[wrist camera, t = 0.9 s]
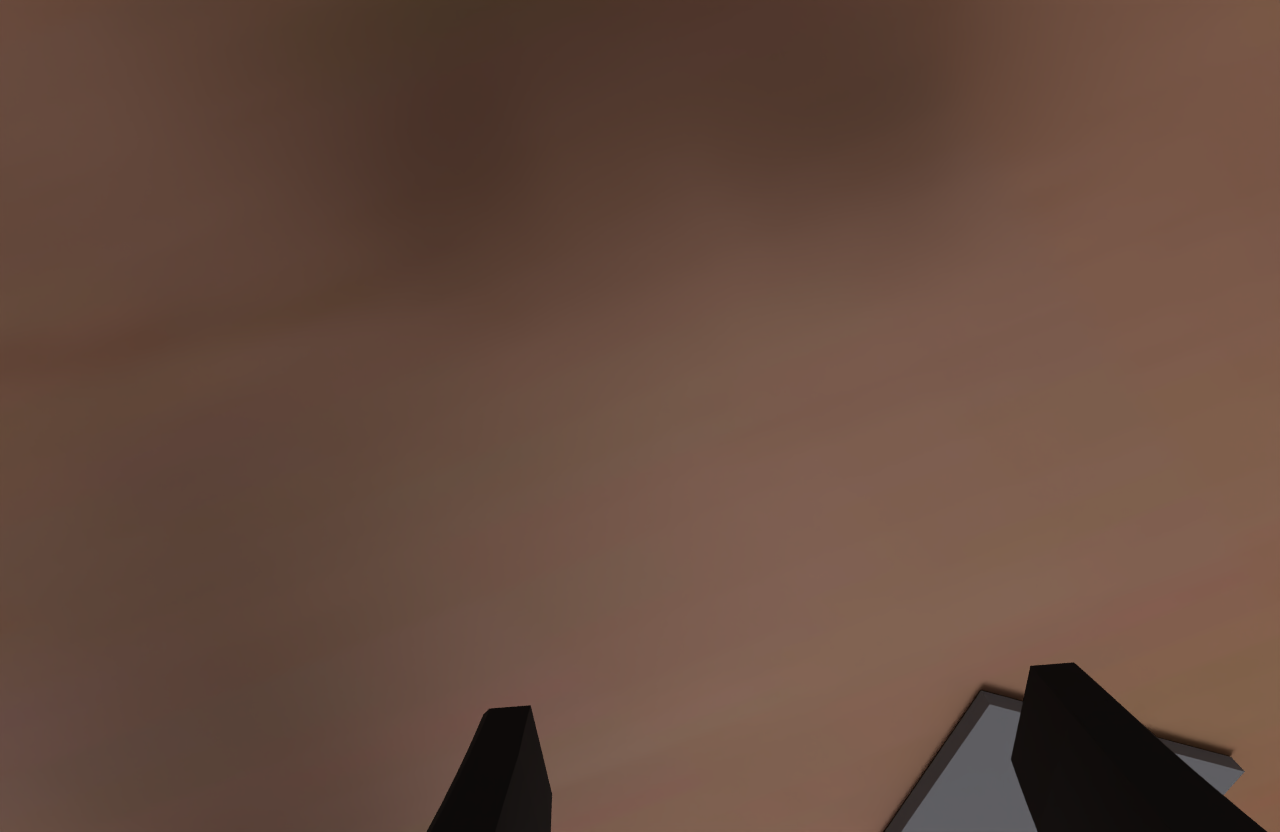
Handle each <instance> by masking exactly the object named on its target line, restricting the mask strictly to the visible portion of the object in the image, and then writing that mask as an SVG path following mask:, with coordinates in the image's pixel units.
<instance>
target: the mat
mask: <svg viewBox="0 0 1280 832" xmlns="http://www.w3.org/2000/svg"><path fill="white" fill-rule="evenodd" d="M1022 704H1023V701H1019V700H1015V699H1011V698H1008V697H1004V696H1000V695H996V694H993V693H989V692H985V691H980V693H979V694H978V696H977V697H976V699H975V700H974V702H973V703H972V704H971V706H970V707H969V709H968V710H967V712H966V713H965V715H964V716H963V718H962V719H961V721H960V722H959V724H958V725H957V726H956V728H955V729H954V731H953V732H952V734H951V735H950V737H949V738H948V740H947V741H946V743H945V744H944V745H943V747H942V748H941V750H940V751H939V753H938V754H937V756H936V757H935V759H934V760H933V762H932V763H931V765H930V766H929V767H928V769H927V770H926V772H925V773H924V775H923V776H922V778H921V779H920V781H919V782H918V784H917V785H916V787H915V788H914V789H913V791H912V792H911V794H910V795H909V797H908V798H907V800H906V801H905V803H904V804H903V806H902V807H901V809H900V810H899V811H898V813H897V814H896V816H895V817H894V819H893V820H892V822H891V823H890V825H889V826H888V828H887V829H886V830H885V832H1037V829H1036V827H1035V824H1034V821H1033V819H1032V816H1031V814H1030V811H1029V809H1028V806H1027V803H1026V801H1025V798H1024V795H1023V792H1022V790H1021V787H1020V784H1019V781H1018V779H1017V776H1016V773H1015V770H1014V767H1013V765H1012V762H1011V756H1012V751H1013V746H1014V741H1015V737H1016V732H1017V727H1018V723H1019V718H1020V713H1021V708H1022ZM1158 739H1159V740H1160V741H1162V742H1163V743H1164V744H1165V745H1166V746H1167V747H1168V748H1169V749H1171V750H1172V751H1173V752H1174V753H1175V754H1176V755H1177V756H1178V757H1180V758H1181V759H1182V760H1183V761H1184V762H1185V763H1186V764H1188V765H1189V766H1190V767H1191V768H1192V769H1193V770H1194V771H1196V772H1197V773H1198V774H1199V775H1200V776H1201V777H1203V778H1204V779H1205V780H1206V781H1207V782H1208V783H1210V784H1211V785H1212V786H1213V787H1214V788H1215V789H1217V790H1218V791H1219V792H1220V793H1221V794H1223V795H1224V794H1225V793H1226V792H1227V791H1228V790H1229V788H1230V787H1231V786H1232V785H1233V784H1234V783H1235V782H1236V781H1237V780H1238V778H1239V777H1240V776H1241V775H1242V774H1243V773H1244V772H1245V771H1244V770H1243V769H1242V768H1241V767H1240V766H1239V765H1238V764H1237V763H1236V762H1235V761H1234V760H1233V758H1232V757H1229V756H1225V755H1221V754H1217V753H1214V752H1210V751H1206V750H1202V749H1199V748H1195V747H1191V746H1187V745H1184V744H1180V743H1176V742H1172V741H1169V740H1165V739H1161V738H1158Z"/></svg>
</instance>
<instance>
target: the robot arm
mask: <svg viewBox="0 0 1280 832" xmlns="http://www.w3.org/2000/svg"><path fill="white" fill-rule="evenodd" d="M1011 762H1012V765H1013V767H1014V770H1015V773H1016V776H1017V779H1018V781H1019V784H1020V787H1021V790H1022V792H1023V795H1024V798H1025V801H1026V803H1027V806H1028V809H1029V811H1030V814H1031V816H1032V819H1033V821H1034V824H1035V827H1036V829H1037V832H1267V831H1265V830H1264V829H1263V828H1262V827H1261V826H1259V825H1258V824H1257V823H1256V822H1255V821H1253V820H1252V819H1251V818H1250V817H1249V816H1247V815H1246V814H1245V813H1244V812H1242V811H1241V810H1240V809H1239V808H1238V807H1237V806H1235V805H1234V804H1233V803H1232V802H1231V801H1230V800H1228V799H1227V798H1226V797H1225V796H1224V795H1223V794H1221V793H1220V792H1219V791H1218V790H1217V789H1215V788H1214V787H1213V786H1212V785H1211V784H1210V783H1208V782H1207V781H1206V780H1205V779H1204V778H1203V777H1201V776H1200V775H1199V774H1198V773H1197V772H1196V771H1194V770H1193V769H1192V768H1191V767H1190V766H1189V765H1188V764H1186V763H1185V762H1184V761H1183V760H1182V759H1181V758H1180V757H1178V756H1177V755H1176V754H1175V753H1174V752H1173V751H1172V750H1171V749H1169V748H1168V747H1167V746H1166V745H1165V744H1164V743H1163V742H1162V741H1160V740H1159V739H1158V738H1157V737H1156V736H1155V735H1154V734H1153V733H1152V732H1150V731H1149V730H1148V729H1147V728H1146V727H1145V726H1144V725H1143V724H1142V723H1140V722H1139V721H1138V720H1137V719H1136V718H1135V717H1134V716H1133V715H1132V714H1130V713H1129V712H1128V711H1127V710H1126V709H1125V708H1124V707H1123V706H1122V705H1121V704H1120V703H1118V702H1117V701H1116V700H1115V699H1114V698H1113V697H1112V696H1111V695H1110V694H1109V693H1107V692H1106V691H1105V690H1104V689H1103V688H1102V687H1101V686H1100V685H1099V684H1098V683H1096V682H1095V681H1094V680H1093V679H1092V678H1091V677H1090V676H1089V675H1088V674H1086V673H1085V672H1084V671H1083V670H1082V669H1081V668H1080V667H1079V666H1077V665H1076V664H1075V663H1062V664H1049V665H1036V666H1030V671H1029V675H1028V680H1027V685H1026V690H1025V694H1024V699H1023V704H1022V708H1021V713H1020V718H1019V723H1018V727H1017V732H1016V737H1015V741H1014V746H1013V751H1012V756H1011ZM551 808H552V792H551V788H550V784H549V780H548V775H547V771H546V767H545V763H544V759H543V755H542V751H541V746H540V742H539V738H538V734H537V730H536V726H535V722H534V718H533V713H532V709H531V705H529V706H517V707H504V708H491V709H489V710H488V711H487V712H486V713H484V714H483V717H482V719H481V721H480V724H479V726H478V728H477V731H476V733H475V735H474V737H473V740H472V742H471V744H470V746H469V749H468V751H467V753H466V755H465V757H464V759H463V761H462V764H461V766H460V768H459V770H458V772H457V774H456V776H455V778H454V780H453V782H452V784H451V786H450V788H449V790H448V792H447V794H446V796H445V798H444V800H443V802H442V804H441V806H440V808H439V810H438V812H437V813H436V815H435V817H434V819H433V821H432V823H431V825H430V826H429V828H428V830H427V832H551Z"/></svg>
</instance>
